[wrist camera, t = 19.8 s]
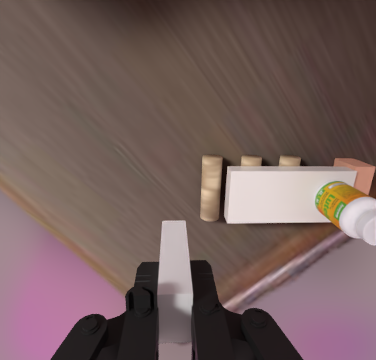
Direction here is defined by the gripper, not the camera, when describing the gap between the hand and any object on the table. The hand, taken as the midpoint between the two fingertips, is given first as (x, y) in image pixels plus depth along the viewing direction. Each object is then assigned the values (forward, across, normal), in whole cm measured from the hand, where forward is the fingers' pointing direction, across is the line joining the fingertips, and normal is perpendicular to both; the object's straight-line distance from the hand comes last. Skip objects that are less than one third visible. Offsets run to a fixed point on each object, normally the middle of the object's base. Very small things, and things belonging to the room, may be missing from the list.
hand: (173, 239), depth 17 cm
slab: (+21, +17, -5) cm, 28 cm away
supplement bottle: (+19, +23, -5) cm, 30 cm away
